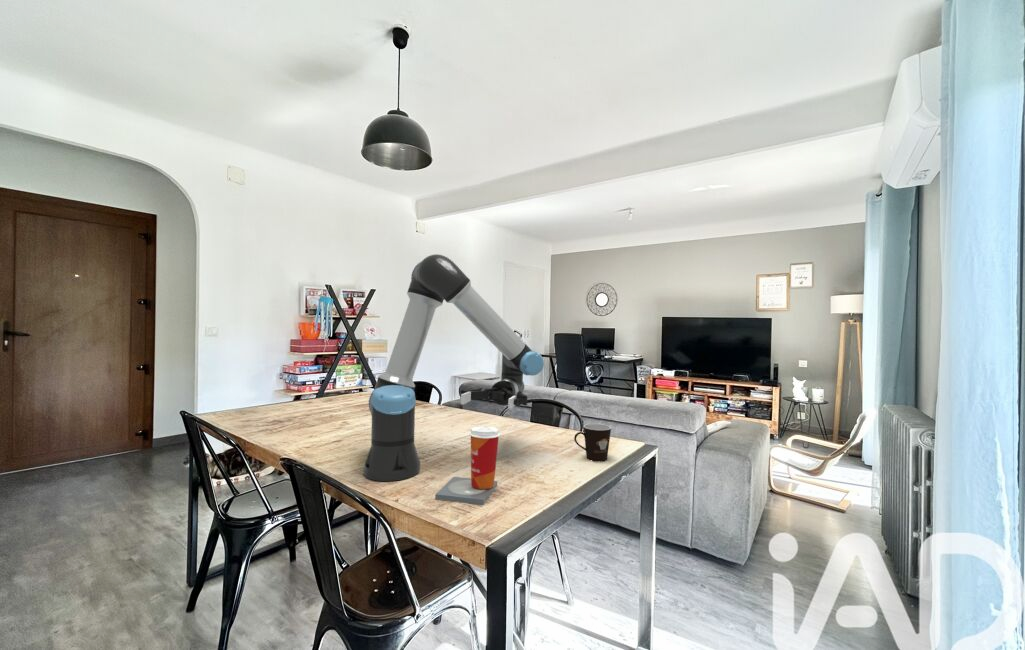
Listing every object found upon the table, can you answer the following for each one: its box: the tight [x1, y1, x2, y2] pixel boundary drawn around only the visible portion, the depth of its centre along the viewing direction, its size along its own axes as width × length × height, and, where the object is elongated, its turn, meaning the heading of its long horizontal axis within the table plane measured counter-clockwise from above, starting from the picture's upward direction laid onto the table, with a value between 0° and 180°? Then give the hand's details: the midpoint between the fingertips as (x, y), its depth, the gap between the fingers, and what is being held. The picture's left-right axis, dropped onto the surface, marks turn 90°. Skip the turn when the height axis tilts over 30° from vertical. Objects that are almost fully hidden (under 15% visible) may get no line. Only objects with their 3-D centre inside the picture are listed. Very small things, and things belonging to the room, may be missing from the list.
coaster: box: [434, 476, 498, 506], centre depth 103 cm, size 12×12×1 cm
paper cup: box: [469, 426, 501, 489], centre depth 104 cm, size 8×8×14 cm
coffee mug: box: [573, 423, 612, 462], centre depth 132 cm, size 12×9×10 cm
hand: (485, 401), depth 114 cm, fingers open, 13 cm apart
